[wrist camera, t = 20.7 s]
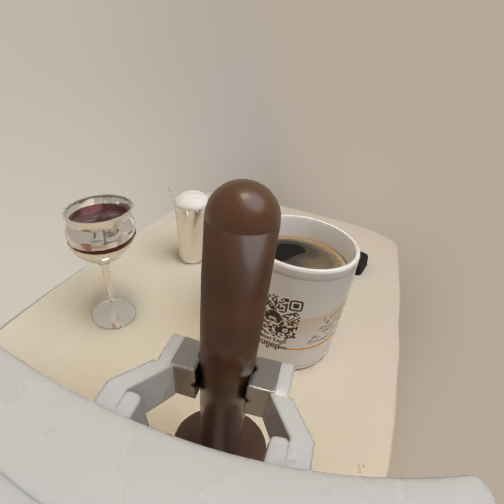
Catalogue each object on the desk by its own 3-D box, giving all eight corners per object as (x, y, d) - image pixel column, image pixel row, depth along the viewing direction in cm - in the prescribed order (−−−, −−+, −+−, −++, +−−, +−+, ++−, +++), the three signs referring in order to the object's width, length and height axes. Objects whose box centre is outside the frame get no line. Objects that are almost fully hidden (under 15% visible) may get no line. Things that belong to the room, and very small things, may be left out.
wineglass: (101, 288, 35) (88, 191, 29) (153, 300, 34) (147, 197, 28) (73, 325, 29) (46, 219, 23) (128, 342, 28) (110, 229, 22)
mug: (261, 388, 26) (283, 287, 20) (203, 306, 34) (207, 212, 29) (348, 348, 31) (383, 256, 25) (282, 285, 39) (298, 201, 34)
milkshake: (166, 251, 43) (165, 182, 38) (203, 247, 45) (206, 179, 40) (172, 269, 40) (171, 194, 35) (212, 264, 42) (216, 192, 37)
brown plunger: (255, 502, 14) (368, 243, 6) (170, 488, 14) (105, 206, 6) (261, 435, 18) (332, 170, 10) (186, 423, 19) (179, 150, 10)
